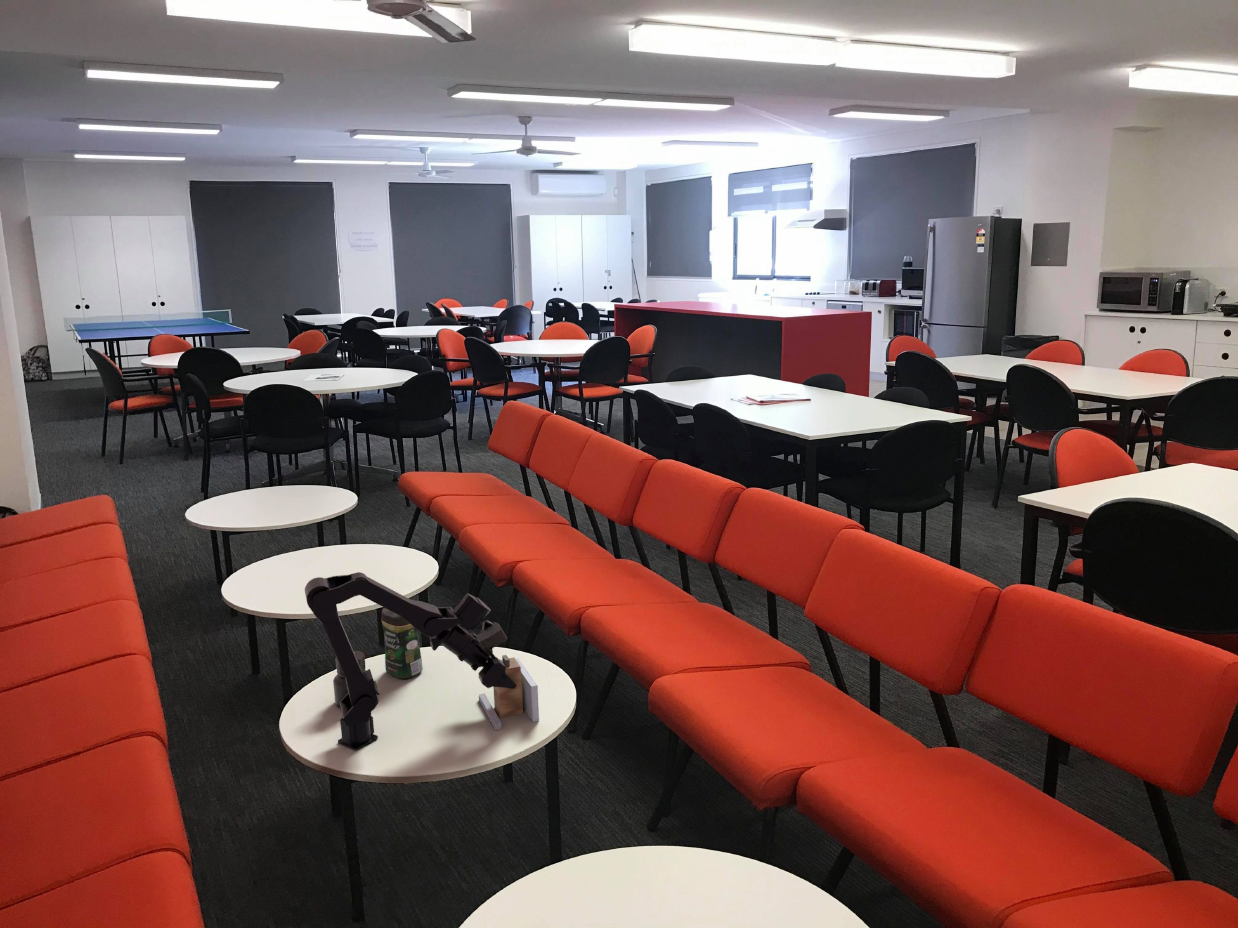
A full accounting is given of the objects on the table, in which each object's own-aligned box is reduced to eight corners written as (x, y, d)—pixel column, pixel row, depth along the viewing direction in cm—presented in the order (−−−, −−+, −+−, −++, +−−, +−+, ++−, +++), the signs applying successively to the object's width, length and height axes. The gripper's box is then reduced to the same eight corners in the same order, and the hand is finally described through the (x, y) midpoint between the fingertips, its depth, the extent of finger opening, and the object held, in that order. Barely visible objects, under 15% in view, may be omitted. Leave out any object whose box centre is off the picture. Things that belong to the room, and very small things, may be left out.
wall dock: (495, 729, 214) (493, 693, 212) (479, 699, 228) (476, 665, 226) (539, 720, 218) (537, 685, 216) (520, 691, 232) (518, 658, 230)
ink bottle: (381, 697, 231) (377, 652, 228) (356, 713, 223) (352, 667, 221) (351, 690, 235) (347, 646, 233) (326, 705, 228) (321, 660, 225)
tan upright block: (500, 717, 220) (497, 664, 217) (494, 707, 225) (491, 655, 222) (522, 712, 222) (520, 659, 219) (516, 702, 227) (514, 650, 224)
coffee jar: (380, 672, 245) (374, 606, 241) (405, 662, 251) (400, 597, 246) (403, 682, 239) (397, 614, 234) (428, 672, 244) (423, 605, 240)
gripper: (494, 630, 208) (543, 667, 214) (475, 602, 224) (521, 638, 231) (461, 670, 206) (512, 706, 213) (444, 638, 223) (492, 673, 230)
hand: (510, 678), depth 222 cm, fingers open, 9 cm apart
